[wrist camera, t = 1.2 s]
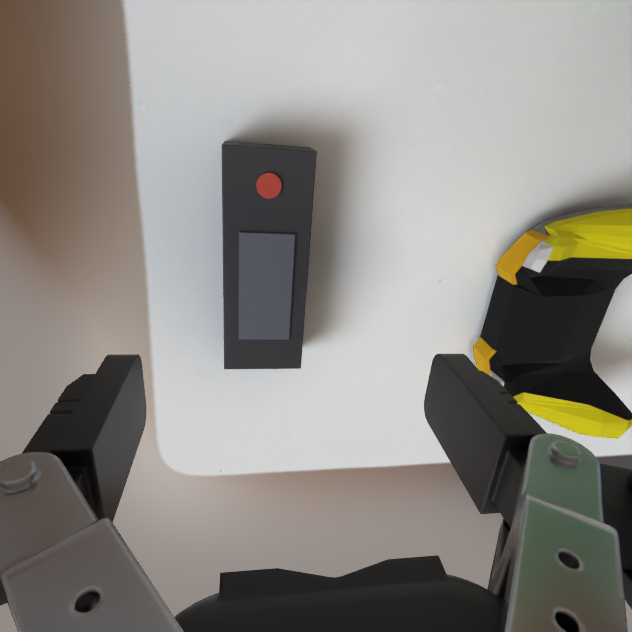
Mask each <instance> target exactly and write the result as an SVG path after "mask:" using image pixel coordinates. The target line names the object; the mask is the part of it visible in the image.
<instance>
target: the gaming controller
mask: <svg viewBox="0 0 632 632" xmlns="http://www.w3.org/2000/svg"><path fill="white" fill-rule="evenodd" d="M496 268H497V271H498V276H497V280H496V283H495V287H494V290H493V294H492V297H491V301H490V304H489V308H488V311H487V315H486V318H485V322H484V325H483V329H482V332H481V336H480V337H481V338H480V339H479V340H478V341H477V342H476V343H475V344H474V346H473V351H474V357H475V361H476V365H477V368H478V370H479V371H483V372H485V373H486V374H488V375H490V376H491V377H493V378H495V379H496V380H498V381H499V382H500V383H501V384H502V386H503V387H504V388H505V389H506V390H507V391H508V392H509V394H511V395H512V396H513V397H514V398H515V400H516V401H517V404H520V405H521V406H522V407H523V408H524V409H525V410H526V411H527V412H529V413H531V414H534V415H536V416H538V417H541V418H543V419H545V420H548V421H550V422H552V423H555V424H557V425H559V426H562V427H564V428H566V429H568V430H571V431H573V432H575V433H578V434H583V435H589V436H595V437H606V438H617V439H618V438H619V437H620V436H621V435H622V434H623V433H624V432H626V431H627V430H628V429H629V428H630V427H631V426H632V413H631V411H630V410H629V409H628V408H627V407H626V406H625V404H624V403H623V402H622V401H621V400H620V399H619V398H618V396H617V395H616V394H615V393H614V392H613V391H612V390H611V389H610V388H609V387H608V386H607V385H606V383H605V382H604V381H603V380H602V379H601V378H600V377H599V376H598V375H597V374H596V373H595V372H594V371H593V368H592V365H591V362H590V353H591V347H592V345H593V343H594V340H595V338H596V335H597V333H598V330H599V328H600V325H601V323H602V320H603V318H604V316H605V313H606V311H607V308H608V306H609V303H610V301H611V298H612V296H613V294H614V291H615V289H616V287H617V286H618V285H619V284H620V283H621V281H622V280H623V279H624V278H626V277H627V276H629V275H630V274H632V204H628V205H619V206H610V207H601V208H591V209H586V210H582V211H578V212H574V213H570V214H566V215H562V216H559V217H555V218H551V219H548V220H545V221H543V222H541V223H539V224H537V225H536V226H535V227H534V228H532V229H529V230H528V231H526V232H525V233H524V234H523V235H522V236H521V237H520V238H519V239H518V240H517V241H516V242H515V243H514V244H513V245H512V247H511V248H510V249H509V250H508V251H507V252H506V253H505V254H504V255H503V256H502V257H501V259H500V260H499V261H498V263H497V264H496Z"/></svg>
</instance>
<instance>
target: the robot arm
mask: <svg viewBox="0 0 632 632" xmlns="http://www.w3.org/2000/svg"><path fill="white" fill-rule="evenodd" d="M424 411H425V416H426V419H427V422H428V423H429V425H430V427H431V429H432V430H433V432H434V434H435V436H436V437H437V439H438V441H439V443H440V444H441V446H442V448H443V449H444V451H445V453H446V455H447V456H448V458H449V460H450V462H451V463H452V465H453V467H454V468H455V470H456V472H457V474H458V475H459V477H460V479H461V481H462V482H463V484H464V486H465V488H466V489H467V491H468V492H469V495H470V496H471V498H472V500H473V501H474V503H475V505H476V507H477V508H478V510H479V512H480V513H481V514H488V513H501V515H502V516H503V518H504V519H503V522H502V525H501V527H500V531H499V537H498V541H497V546H496V551H495V556H494V560H493V566H492V570H491V575H490V580H489V585H488V589H485V588H483V587H481V586H479V585H477V584H475V583H472V582H470V581H468V580H465V579H462V578H459V577H455V576H452V575H447V574H446V572H445V570H444V568H443V565H442V563H441V561H440V558H439V556H426V557H414V558H401V559H389V560H385V561H383V562H380V563H378V564H374V565H372V566H369V567H366V568H363V569H361V570H358V571H355V572H352V573H350V574H347V575H344V576H341V577H336V578H332V577H325V576H319V575H313V574H307V573H302V572H296V571H290V570H283V569H277V568H276V569H264V570H252V571H239V572H226V573H221V574H220V590H219V593H217V594H214V595H212V596H208V597H206V598H204V599H202V600H200V601H198V602H196V603H194V604H193V605H191V606H190V607H188V608H186V609H185V610H183V611H182V612H180V613H179V614H178V615H176V616H175V617H174V616H173V615H172V613H171V611H170V610H169V608H168V607H167V605H166V604H165V602H164V601H163V599H162V598H161V596H160V595H159V593H158V591H157V590H156V589H155V587H154V585H153V584H152V582H151V581H150V579H149V578H148V576H147V575H146V573H145V572H144V570H143V569H142V567H141V566H140V564H139V563H138V561H137V560H136V558H135V556H134V555H133V553H132V552H131V551H130V549H129V548H128V546H127V544H126V543H125V541H124V540H123V538H122V537H121V535H120V534H119V532H118V530H117V529H116V527H115V526H114V525H113V523H112V522H113V519H114V516H115V513H116V510H117V508H118V505H119V502H120V499H121V496H122V493H123V489H124V487H125V484H126V481H127V478H128V475H129V472H130V469H131V466H132V463H133V460H134V457H135V454H136V451H137V448H138V445H139V442H140V439H141V436H142V433H143V430H144V427H145V421H146V399H145V390H144V381H143V371H142V362H141V358H140V356H139V355H107V356H106V357H105V359H104V361H103V362H102V364H101V366H100V367H99V369H98V371H97V373H96V374H84V375H82V376H81V377H79V378H78V379H77V380H75V381H74V382H72V383H71V384H70V385H68V386H67V387H66V389H65V390H64V392H63V393H62V394H61V396H60V397H59V399H58V403H56V404H55V405H54V406H53V408H52V410H51V411H50V414H48V415H47V417H46V418H45V420H44V421H43V423H42V424H41V426H40V427H39V429H38V430H37V432H36V433H35V435H34V436H33V438H32V439H31V441H30V442H29V444H28V445H27V447H26V448H25V449H24V451H23V453H22V454H19V455H16V456H13V457H10V458H8V459H5V460H3V461H1V462H0V605H3V604H5V603H8V605H9V608H10V610H11V614H12V616H13V619H14V622H15V625H16V628H17V630H18V632H628V629H627V618H626V608H625V600H626V602H627V603H628V604H629V606H630V607H631V609H632V470H631V469H626V468H621V467H615V466H610V465H605V464H600V463H599V462H598V460H597V458H596V457H595V456H594V455H593V454H592V452H590V451H589V450H588V449H587V448H585V447H584V446H583V445H581V444H579V443H577V442H576V441H573V440H571V439H569V438H566V437H563V436H560V435H555V434H547V433H546V432H545V431H544V430H543V429H542V428H541V426H540V425H539V424H538V423H537V422H536V421H535V420H534V419H533V418H532V417H531V416H530V415H529V414H528V412H527V411H526V410H525V409H524V408H523V407H522V406H521V405H520V404H517V401H516V400H515V398H514V397H513V396H512V395H511V394H509V392H508V391H507V390H506V389H505V388H504V387H503V386H502V384H501V383H500V382H499V381H498V380H496V379H495V378H493V377H491V376H490V375H488V374H486V373H485V372H483V371H479V370H478V369H477V368H476V367H475V365H474V364H473V363H472V362H471V361H470V360H469V359H468V358H467V356H465V355H464V354H437V355H435V357H434V359H433V362H432V366H431V371H430V376H429V380H428V385H427V390H426V395H425V400H424Z"/></svg>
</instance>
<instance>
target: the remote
mask: <svg viewBox="0 0 632 632" xmlns="http://www.w3.org/2000/svg"><path fill="white" fill-rule="evenodd" d="M316 154H317V152H316V151H315V150H313V149H311V148H309V147H296V146H282V145H269V144H256V143H242V142H229V141H225V142H224V143H223V144H222V205H223V298H224V369H284V368H301V357H302V343H303V330H304V316H305V303H306V289H307V276H308V262H309V248H310V235H311V221H312V208H313V194H314V181H315V167H316Z"/></svg>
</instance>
